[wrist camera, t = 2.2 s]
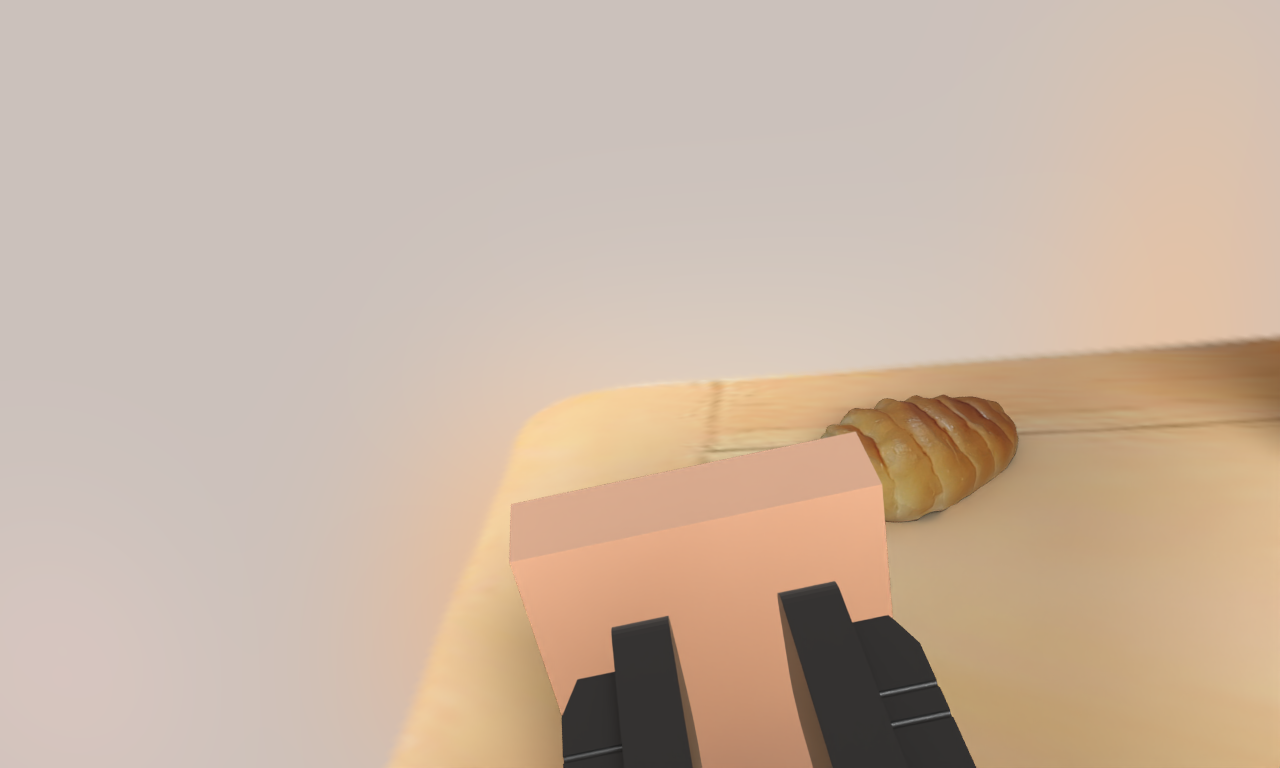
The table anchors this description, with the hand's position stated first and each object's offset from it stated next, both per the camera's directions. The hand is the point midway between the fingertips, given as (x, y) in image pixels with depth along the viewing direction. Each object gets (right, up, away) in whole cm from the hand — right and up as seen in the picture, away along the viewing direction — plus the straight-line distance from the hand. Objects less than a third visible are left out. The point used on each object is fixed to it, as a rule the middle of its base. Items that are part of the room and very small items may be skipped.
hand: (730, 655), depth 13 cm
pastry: (+12, -1, +37) cm, 39 cm away
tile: (+3, -11, +22) cm, 25 cm away
